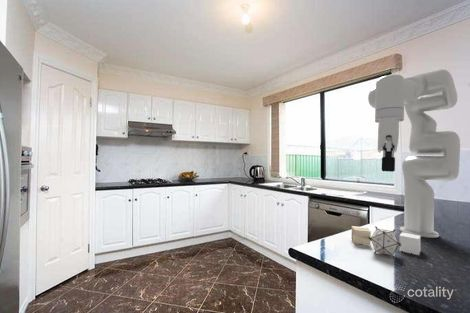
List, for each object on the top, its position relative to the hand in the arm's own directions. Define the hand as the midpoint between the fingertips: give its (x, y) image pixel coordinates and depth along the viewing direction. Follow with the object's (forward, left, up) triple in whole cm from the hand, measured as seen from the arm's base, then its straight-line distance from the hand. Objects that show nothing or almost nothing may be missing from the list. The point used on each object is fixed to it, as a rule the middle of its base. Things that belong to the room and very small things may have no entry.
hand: (387, 171), depth 72 cm
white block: (-9, +6, -26) cm, 28 cm away
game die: (0, -1, -26) cm, 26 cm away
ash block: (-8, -8, -26) cm, 28 cm away
